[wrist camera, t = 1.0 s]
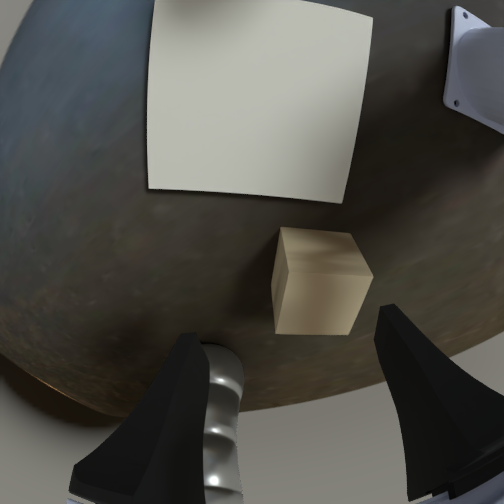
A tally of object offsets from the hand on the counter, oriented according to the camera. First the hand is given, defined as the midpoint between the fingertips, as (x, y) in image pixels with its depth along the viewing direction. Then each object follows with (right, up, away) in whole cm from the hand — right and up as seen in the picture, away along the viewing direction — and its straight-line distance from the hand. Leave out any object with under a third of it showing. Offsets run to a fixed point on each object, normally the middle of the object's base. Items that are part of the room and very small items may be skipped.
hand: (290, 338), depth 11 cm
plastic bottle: (-5, -7, +16) cm, 19 cm away
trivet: (-1, +12, +4) cm, 13 cm away
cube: (+3, +3, +10) cm, 11 cm away
